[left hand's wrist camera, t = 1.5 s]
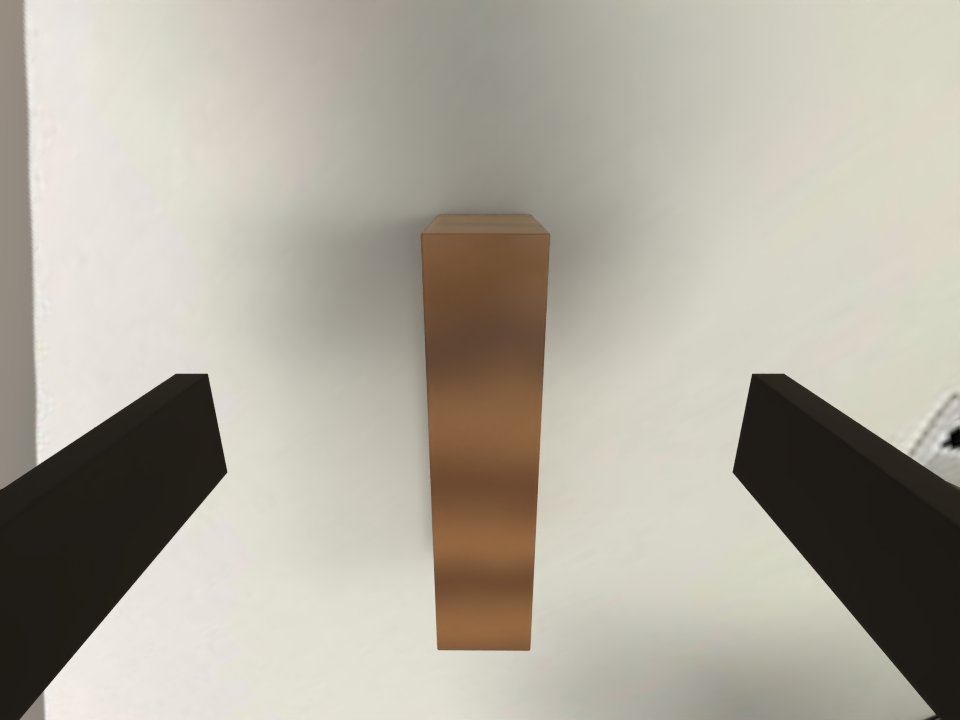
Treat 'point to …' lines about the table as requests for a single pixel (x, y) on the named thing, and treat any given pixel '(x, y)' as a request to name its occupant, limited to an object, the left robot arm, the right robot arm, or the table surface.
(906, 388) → the table surface
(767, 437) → the left robot arm
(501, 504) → the bar
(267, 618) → the table surface
